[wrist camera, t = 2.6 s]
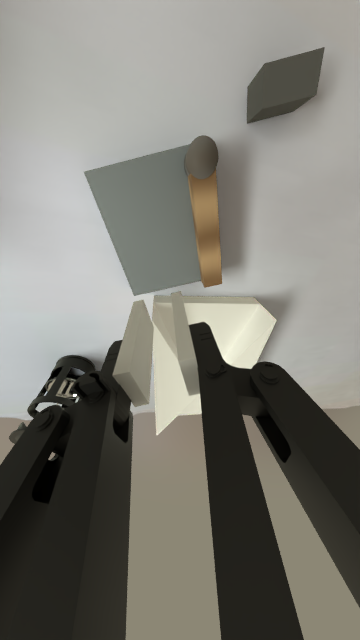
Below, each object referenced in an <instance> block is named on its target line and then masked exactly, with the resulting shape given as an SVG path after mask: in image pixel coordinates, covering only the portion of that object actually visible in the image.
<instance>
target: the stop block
mask: <svg viewBox="0 0 360 640" xmlns="http://www.w3.org/2000/svg"><path fill="white" fill-rule="evenodd" d="M324 48H325V47H324ZM324 48H320V49H316V50H313V51H309V52H305V53H302V54H298V55H295V56H291V57H287V58H284V59H280V60H276V61H273V62H269V63H265V64H264V65H263V67H262V68H261V69H260V71H259V72H258V74H257V75H256V76H255V78H254V79H253V80H252V82H251V83H250V85H249V86H248V97H247V123H251V122H255V121H259V120H262V119H266V118H270V117H274V116H278V115H282V114H285V113H289V112H293V111H294V110H296V109H297V108H298V107H300V106H301V105H303V104H304V103H305V102H307V101H308V100H310V99H311V98H312V97H314V96H315V95H316V93H317V87H318V82H319V76H320V70H321V65H322V59H323V53H324Z"/></svg>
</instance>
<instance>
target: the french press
mask: <svg viewBox="0 0 360 640" xmlns="http://www.w3.org/2000/svg"><path fill="white" fill-rule="evenodd" d="M62 367H63V368H62ZM71 367H73V368H77V369H80V370H82V371H84V372H85V373H87V372H90V371H95V366H94V364H93V363H92V362H91V361H89V360H88V359H86V358H83V357H80V356H74V355H70V356H65V357H62V358H60V359H59V360H58V361H57V363H56V366H55V368H54V369H53V371H52V373H51V376H50V378H49V379H48V381H47V382H46V384H45V385H44V387H43V388H42V390H41V391H40V393H39V394H38V396H37V398H36V399H34V400H33V401H32V403H31V404H30V406H29V407H28V414H29V415H30V416H32V417H33V418H35V416H36V415H37V414H39V413H40V412H38V411H37V410H35V409H36V407H37V406H38V404H39V403H42V402H53V403H57V404H56V405H58V404H62V408H63V409H65V408H67V407H69V406H71V405H73V404H75V401H76V399H77V398H78V397H79V396H77V395H76V394H75V393H74V392H73V391H72V390H71V387H72V385H73V384H74V382H75V381H76V380H77V379H78V378H79V377H81V376H79V377H78V376H72V375H69V374H68V373H69V371H70V369H71ZM46 391H48V393H47V394H46V396H44V394H45V393H46ZM80 400H81V398H79V400H78V402H79V401H80ZM26 428H27V427H26V426H25V424H24V422H22V423H21V424H20V426H19V427H18V429H17V430H16V431H14V432H12V433H11V435H10V436H9V439H10V441H11V442H12V443H14V444H16V442H17V441H18V439H19V438H20V437H21V435H22V434H23V432H24V431H25V429H26Z"/></svg>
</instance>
